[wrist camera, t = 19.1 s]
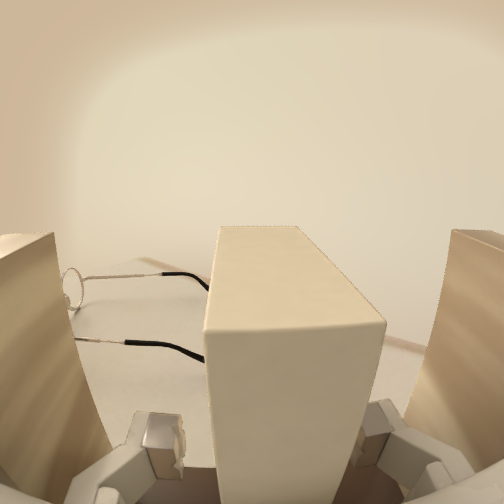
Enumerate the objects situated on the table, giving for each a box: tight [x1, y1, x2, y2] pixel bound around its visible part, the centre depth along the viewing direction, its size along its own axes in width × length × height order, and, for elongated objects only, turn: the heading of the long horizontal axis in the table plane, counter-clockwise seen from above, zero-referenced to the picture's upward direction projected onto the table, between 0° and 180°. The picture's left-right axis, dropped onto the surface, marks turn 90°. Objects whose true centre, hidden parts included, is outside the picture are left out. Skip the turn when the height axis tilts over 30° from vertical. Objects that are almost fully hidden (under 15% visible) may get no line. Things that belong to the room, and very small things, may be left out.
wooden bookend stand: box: [0, 229, 504, 504], centre depth 9 cm, size 21×8×14 cm, turn 94°
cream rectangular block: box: [202, 226, 387, 504], centre depth 9 cm, size 2×6×13 cm, turn 4°
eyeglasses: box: [61, 268, 209, 363], centre depth 30 cm, size 16×19×5 cm
